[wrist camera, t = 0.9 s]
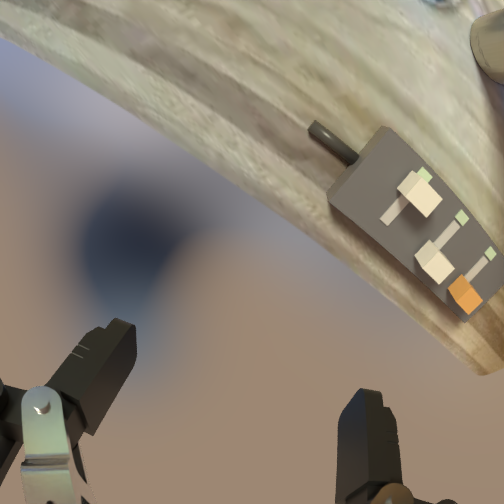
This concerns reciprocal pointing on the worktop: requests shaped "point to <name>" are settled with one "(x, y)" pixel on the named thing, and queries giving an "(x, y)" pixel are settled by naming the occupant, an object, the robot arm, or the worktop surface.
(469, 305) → the switch
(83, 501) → the robot arm
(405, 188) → the switch
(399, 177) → the slider control box
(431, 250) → the switch
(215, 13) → the worktop surface
